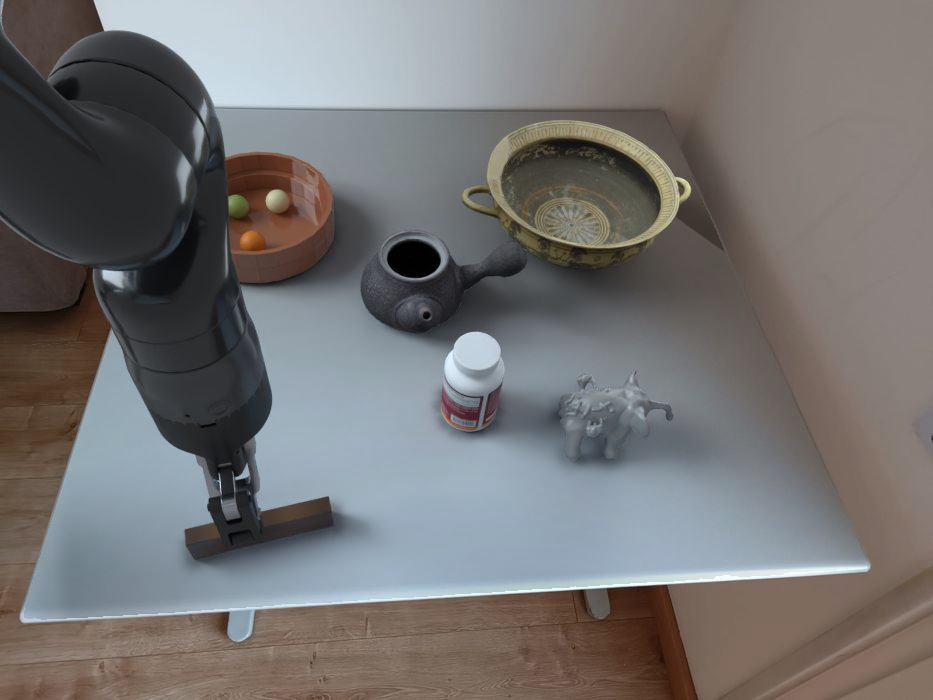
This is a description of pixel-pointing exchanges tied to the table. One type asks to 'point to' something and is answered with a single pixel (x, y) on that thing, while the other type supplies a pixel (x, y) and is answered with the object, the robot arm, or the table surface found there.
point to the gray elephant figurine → (606, 414)
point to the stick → (265, 527)
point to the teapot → (426, 279)
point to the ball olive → (238, 206)
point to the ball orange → (252, 241)
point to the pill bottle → (472, 382)
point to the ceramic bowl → (579, 193)
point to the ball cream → (277, 201)
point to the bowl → (279, 215)
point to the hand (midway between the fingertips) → (244, 483)
